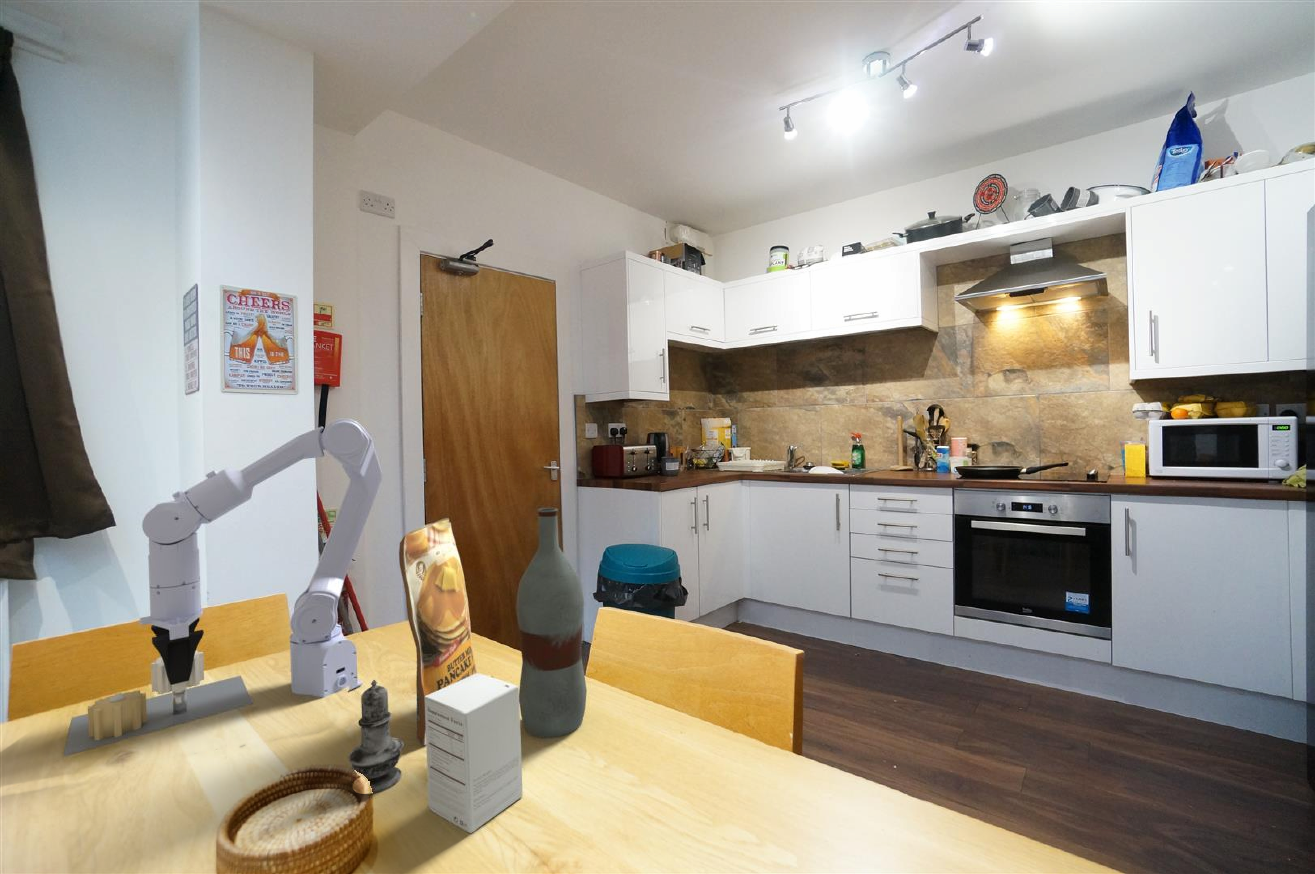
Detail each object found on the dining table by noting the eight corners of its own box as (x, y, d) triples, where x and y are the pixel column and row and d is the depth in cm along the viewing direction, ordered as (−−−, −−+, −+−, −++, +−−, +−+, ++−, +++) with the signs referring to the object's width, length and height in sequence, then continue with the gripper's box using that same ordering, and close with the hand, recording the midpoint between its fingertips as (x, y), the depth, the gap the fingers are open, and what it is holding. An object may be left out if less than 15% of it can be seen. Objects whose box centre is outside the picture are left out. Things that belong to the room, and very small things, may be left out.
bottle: (518, 744, 75) (511, 515, 75) (520, 711, 84) (514, 506, 84) (590, 735, 77) (583, 511, 77) (585, 703, 86) (579, 503, 86)
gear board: (240, 681, 97) (239, 649, 97) (253, 709, 87) (251, 673, 87) (72, 724, 84) (71, 686, 84) (63, 763, 74) (61, 721, 74)
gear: (193, 689, 83) (192, 661, 83) (144, 696, 81) (143, 668, 81) (209, 674, 88) (208, 648, 88) (163, 680, 86) (162, 653, 86)
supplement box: (482, 776, 69) (478, 670, 69) (524, 797, 64) (521, 684, 64) (425, 810, 63) (422, 694, 62) (469, 836, 58) (465, 712, 58)
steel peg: (189, 710, 85) (188, 683, 85) (176, 715, 84) (175, 688, 84) (183, 708, 86) (182, 681, 86) (170, 713, 84) (169, 686, 84)
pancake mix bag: (386, 751, 74) (378, 535, 74) (452, 686, 93) (447, 513, 93) (436, 753, 74) (428, 535, 73) (493, 686, 93) (487, 513, 92)
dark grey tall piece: (413, 766, 71) (410, 669, 71) (386, 797, 65) (383, 691, 65) (368, 765, 72) (365, 669, 71) (337, 795, 66) (334, 690, 66)
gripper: (138, 579, 87) (141, 669, 87) (138, 598, 76) (142, 700, 77) (198, 571, 92) (200, 655, 92) (206, 588, 81) (209, 684, 81)
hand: (178, 675), depth 85 cm, fingers closed on gear, 6 cm apart
